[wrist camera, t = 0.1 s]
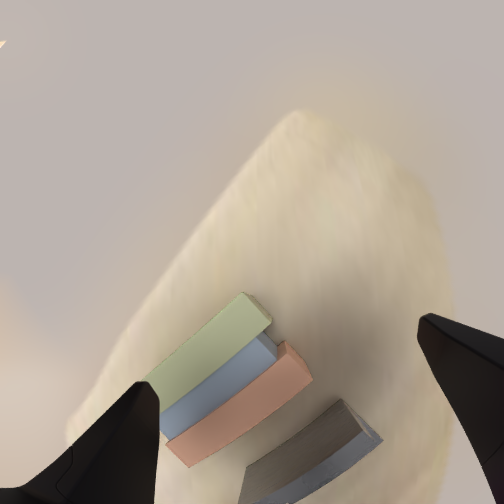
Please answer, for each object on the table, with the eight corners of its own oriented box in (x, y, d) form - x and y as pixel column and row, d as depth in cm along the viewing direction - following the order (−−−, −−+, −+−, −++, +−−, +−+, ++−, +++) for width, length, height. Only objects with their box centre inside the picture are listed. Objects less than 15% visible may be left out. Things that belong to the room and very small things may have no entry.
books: (308, 356, 22) (319, 374, 15) (208, 434, 21) (187, 468, 15) (251, 295, 23) (241, 291, 17) (156, 377, 22) (121, 396, 16)
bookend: (381, 437, 19) (409, 472, 12) (290, 501, 19) (292, 545, 12) (341, 398, 21) (363, 430, 14) (246, 467, 20) (235, 511, 13)
